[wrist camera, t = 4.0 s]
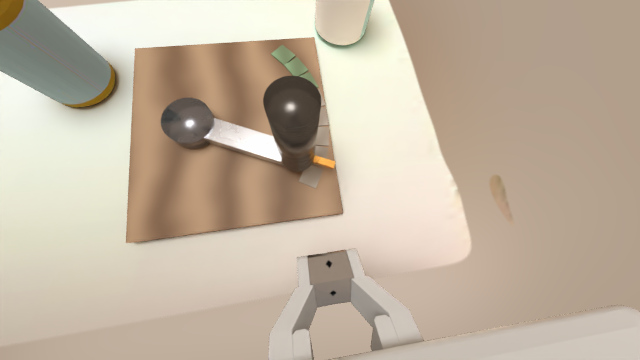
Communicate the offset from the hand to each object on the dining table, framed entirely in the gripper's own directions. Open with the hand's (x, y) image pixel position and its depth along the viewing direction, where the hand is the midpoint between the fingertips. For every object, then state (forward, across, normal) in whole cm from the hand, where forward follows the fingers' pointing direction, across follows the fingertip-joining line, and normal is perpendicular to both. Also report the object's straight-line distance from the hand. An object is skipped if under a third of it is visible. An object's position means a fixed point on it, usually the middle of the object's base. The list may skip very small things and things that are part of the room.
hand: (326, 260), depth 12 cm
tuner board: (+20, +8, -1) cm, 21 cm away
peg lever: (+17, +6, 0) cm, 18 cm away
